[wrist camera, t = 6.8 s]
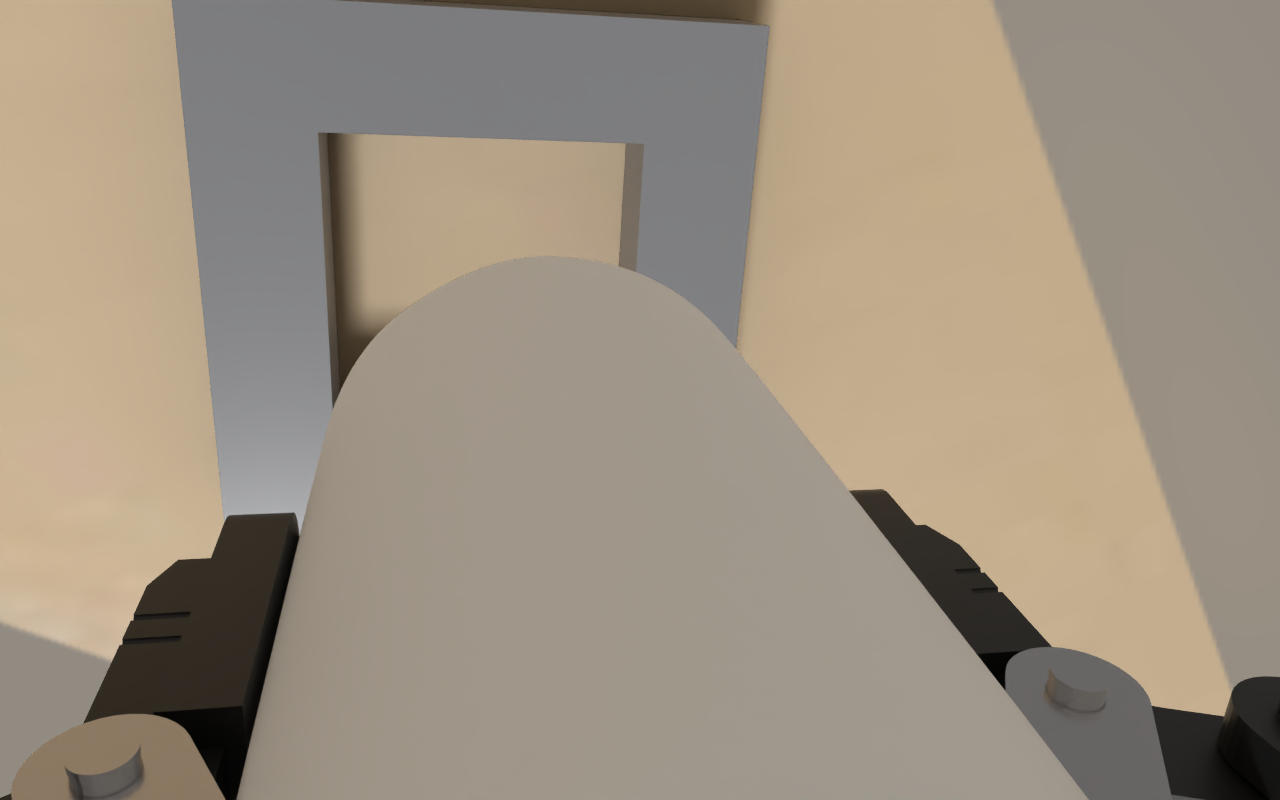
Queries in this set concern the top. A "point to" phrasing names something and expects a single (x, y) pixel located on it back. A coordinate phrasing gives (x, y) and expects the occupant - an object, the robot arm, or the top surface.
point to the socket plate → (442, 107)
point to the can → (605, 580)
